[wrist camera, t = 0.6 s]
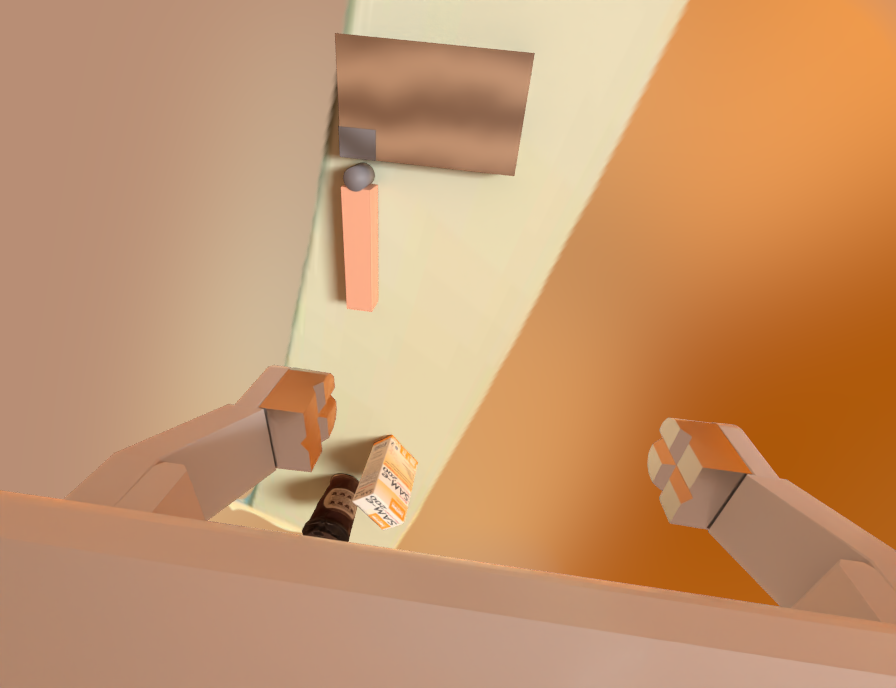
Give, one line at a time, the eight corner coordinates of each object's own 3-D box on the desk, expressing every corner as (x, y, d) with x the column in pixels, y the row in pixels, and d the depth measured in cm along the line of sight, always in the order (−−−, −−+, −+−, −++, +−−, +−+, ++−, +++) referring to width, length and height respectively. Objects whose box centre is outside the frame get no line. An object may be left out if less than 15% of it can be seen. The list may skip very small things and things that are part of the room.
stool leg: (350, 161, 49) (338, 165, 45) (378, 164, 48) (369, 169, 45) (355, 297, 58) (346, 309, 55) (378, 300, 58) (371, 312, 55)
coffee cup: (336, 462, 78) (309, 522, 67) (373, 480, 79) (354, 541, 68) (319, 485, 82) (292, 545, 71) (355, 502, 84) (334, 563, 73)
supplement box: (419, 461, 75) (406, 524, 64) (399, 469, 77) (383, 532, 66) (392, 433, 72) (373, 493, 61) (372, 442, 74) (350, 502, 63)
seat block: (347, 38, 42) (333, 32, 39) (531, 57, 42) (534, 53, 38) (351, 152, 48) (339, 156, 44) (512, 170, 47) (514, 176, 44)
